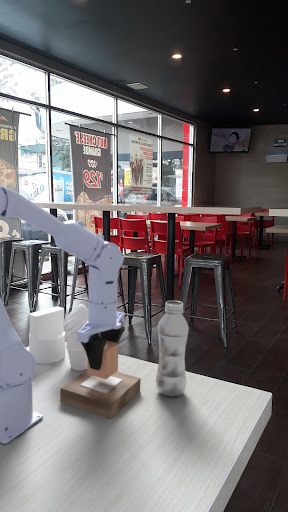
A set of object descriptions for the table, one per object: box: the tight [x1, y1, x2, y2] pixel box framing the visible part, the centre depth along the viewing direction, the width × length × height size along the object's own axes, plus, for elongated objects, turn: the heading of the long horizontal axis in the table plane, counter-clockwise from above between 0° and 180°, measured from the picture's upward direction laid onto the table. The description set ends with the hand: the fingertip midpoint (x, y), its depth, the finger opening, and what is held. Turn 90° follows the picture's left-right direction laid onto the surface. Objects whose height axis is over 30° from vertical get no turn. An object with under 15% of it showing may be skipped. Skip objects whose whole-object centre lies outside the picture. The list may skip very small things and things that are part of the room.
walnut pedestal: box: [59, 369, 142, 419], centre depth 83 cm, size 12×12×3 cm
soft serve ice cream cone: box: [63, 303, 88, 372], centre depth 95 cm, size 8×8×16 cm
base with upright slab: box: [28, 306, 66, 364], centre depth 101 cm, size 9×9×12 cm
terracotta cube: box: [87, 341, 120, 379], centre depth 82 cm, size 4×4×6 cm
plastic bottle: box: [155, 300, 189, 398], centre depth 84 cm, size 6×7×20 cm
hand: (102, 364), depth 82 cm, fingers closed on terracotta cube, 4 cm apart
